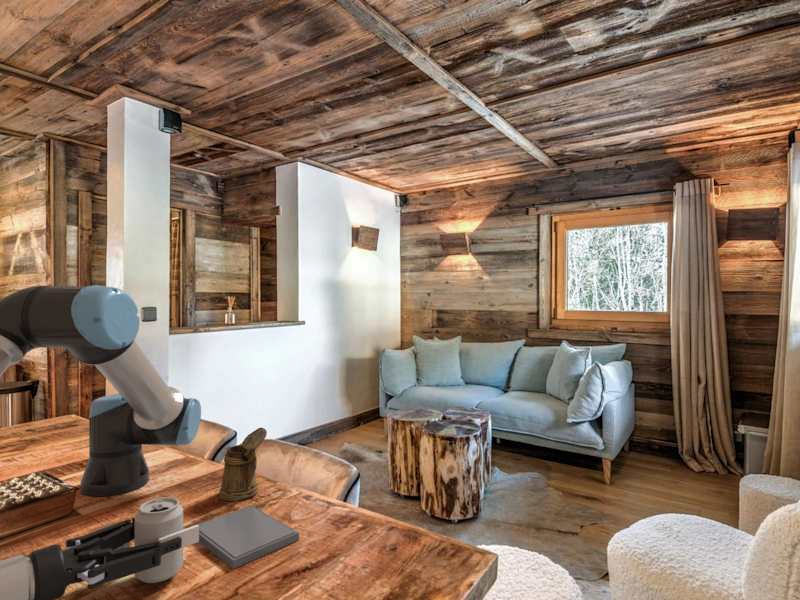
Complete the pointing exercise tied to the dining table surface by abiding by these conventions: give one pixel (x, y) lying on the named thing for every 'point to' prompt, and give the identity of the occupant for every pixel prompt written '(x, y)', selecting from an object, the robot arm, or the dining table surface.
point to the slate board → (245, 535)
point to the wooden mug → (241, 468)
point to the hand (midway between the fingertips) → (187, 525)
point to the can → (159, 535)
